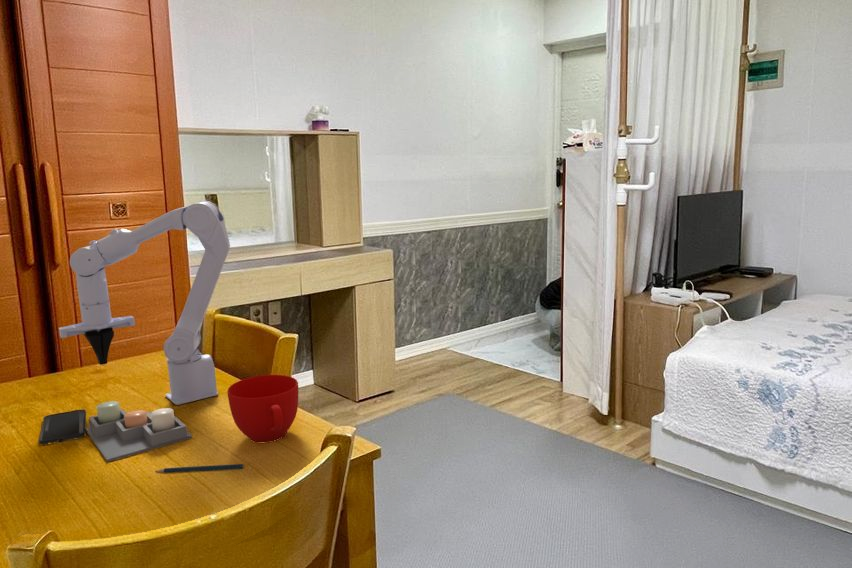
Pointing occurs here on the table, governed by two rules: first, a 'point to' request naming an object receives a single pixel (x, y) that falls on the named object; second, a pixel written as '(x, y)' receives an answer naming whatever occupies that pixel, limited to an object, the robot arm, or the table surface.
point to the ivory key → (162, 419)
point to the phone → (63, 426)
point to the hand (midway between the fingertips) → (102, 363)
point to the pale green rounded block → (108, 412)
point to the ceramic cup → (264, 406)
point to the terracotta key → (135, 418)
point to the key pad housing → (132, 437)
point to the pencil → (201, 468)
